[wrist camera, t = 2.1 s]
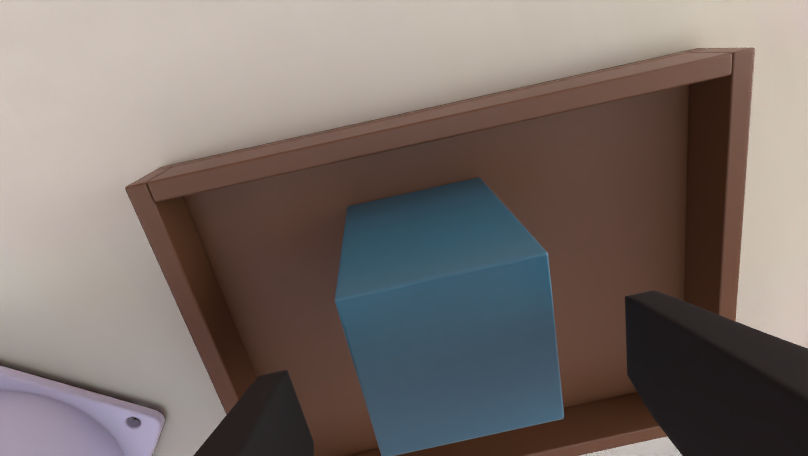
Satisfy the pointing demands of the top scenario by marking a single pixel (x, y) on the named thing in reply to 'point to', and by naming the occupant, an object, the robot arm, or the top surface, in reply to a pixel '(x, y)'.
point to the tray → (517, 189)
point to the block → (447, 317)
